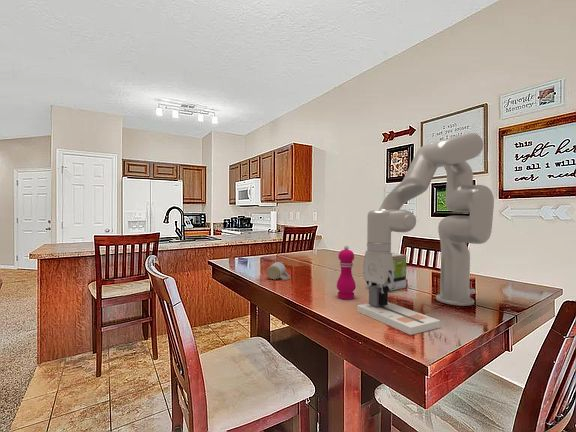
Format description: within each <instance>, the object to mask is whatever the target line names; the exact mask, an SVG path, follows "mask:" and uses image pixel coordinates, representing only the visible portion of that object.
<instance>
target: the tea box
mask: <svg viewBox="0 0 576 432" xmlns="http://www.w3.org/2000/svg"><path fill="white" fill-rule="evenodd" d="M391 253H392V257H393V265H394V283H395V287H394V288H392V289H391V290H390V291H389V292H391V291H396V290H400V289H404V288H405V289H406V286H407V254H403V253H396V252H391ZM377 285H380V284H377ZM384 286H385V285H384ZM366 288H367V289H368V284H367V283H366Z"/></svg>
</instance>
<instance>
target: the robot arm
mask: <svg viewBox="0 0 576 432" xmlns="http://www.w3.org/2000/svg"><path fill="white" fill-rule="evenodd" d="M483 148H484V140H483V139H482V137H481V136H480V135H479V134H477V133H474V132H469V133H465V134H461V135H457V136H452V137H449V138H448V137H447V138H445V139H442V140H439V141H437V142H432V143H428V144H425V145H423V146H421V147H420V148H418V150H417V151H416V152H415V154H414V157H413V158H412V161H411V163H410V165H409V167H408V169H407V172H406V174H405V175H404V177H403V179H402V181H401V182H400V183H399V184H397V185H396V186H395V187H394V188H393V189H392V190H390V192H389V193H388V194H387V195H386V197H385V198H384V199H383V201H382V203H381V205H380V207H379V209H378V210H375V209H374V210H369V211H368V213H367V216H366V217H367V222H366V223H367V225H366V227H367V228H366V229H367V231H366V232H367V235H366V240H367V241H366V247H367V248H366V251H365V252H364V257H363V267H362V278H363V280H364V281H365V282H366V285H367V284H368V288H367V289H368V290H369V286H374V285H377V284H380V292H381V293H379V305H380V306H382V305H387V293H388V294H389V293H390V292H391V291H390V290H391V289H392V288H394V287H395V283H394V265H393V257H392V253H393V252H392V232H395V233H408V232H410V231H413V229H414V228H415V227H416V226H417V218H416V216H415V214H414V213H413V212H412V211H410V210H406V209H401V208H402V207H403V206H404V205H405V204H407V202H409V201H411V200H412V199H414V198H417V197H418V196H420V195H422V194H423V193H425V192H426V191H427V190H428V188H429V187H430V185H431V182H432V179H433V178H434V175H435V174H436V172H437V169H438V168H441V167H442V168H444V170H445V172H446V186H445V196H444V197H445V198H444V200H445V201H444V202H445V208H446V209H447V210H449V212H454V213H469V215H449V216H445V217H444V218H442V219H441V220H440V221H439V223H438V225H437V226H438V228H437V231H438V235H439V242H440V289H439V290H440V292H439V294H438V293H437V294H436V295H435V299H436V301H438V302H439V303H442V304H443V303H444V304H447V305H451V306H459V307H460V306H461V307H462V306H463V307H464V306H465V307H466V306H473V305H474V304H475V300H474V298H472V297H471V295H475V294H476V289H475V288H470V279H471V277H470V276H471V274H470V273H471V270H470V267H471V254H470V253H471V252H470V250H469V247H468V246H467V244H471V245H472V244H474V245H481V244H485V243H486V242H487V241H489V239H490V238H491V234H492V231H493V219H494V210H495V209H494V206H495V198H494V195H493V191H492V190H491V188H489V187H488V186H487V185H484V184H483V185H482V184H473V183H474V181H473V180H474V172H473V169H472V167H471V166H470V163H468V162H467V161H469V160H473V159H475V158H477V157H478V156H480V154H481V153H482V151H483ZM384 285H385V287H384Z"/></svg>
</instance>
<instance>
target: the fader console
mask: <svg viewBox="0 0 576 432" xmlns="http://www.w3.org/2000/svg"><path fill="white" fill-rule="evenodd" d="M356 311H357V313H359V314H363V315H364V316H367V317H369V318H372V319H374V320H376V321H377V322H380V323H383V324H385V325H387V326H389V327H392V328H393V329H396V330H398V331H400V332H403V333H405V334H408V335H410V336H413V335H416V334H421V333H424V332H428V331H432V330H437V329H441V319H437V318H434V317H431V316H429V315H426V314H423V313H420V312H417V311H415V310H412V309H409V308H406V307H404V306H401V305H397V304H396V303H395V304H394V303H392V302H389V301H388V305H385V306H379V307H375V306H372V305H370V304H369V302H368V303H364V304H357V306H356Z"/></svg>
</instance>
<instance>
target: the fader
mask: <svg viewBox="0 0 576 432" xmlns="http://www.w3.org/2000/svg"><path fill="white" fill-rule="evenodd" d="M384 287H385V286H384ZM379 293H381V292H380V285H374V286H369V289H368V303H369V304H370V305H372V306H375V307H379V306H380V305H379ZM388 302H389V293H387V305H388ZM382 306H385V305H382Z"/></svg>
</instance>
